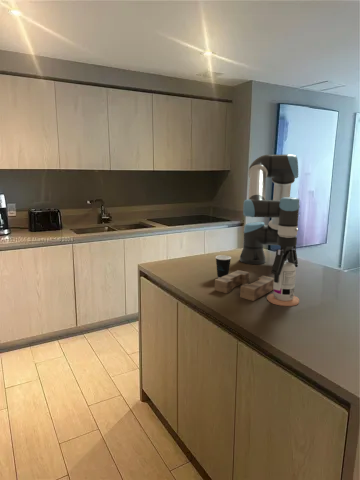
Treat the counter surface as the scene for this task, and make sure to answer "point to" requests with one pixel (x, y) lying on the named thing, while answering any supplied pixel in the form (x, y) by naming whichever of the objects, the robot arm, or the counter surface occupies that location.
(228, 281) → the walnut caddy
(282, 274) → the supplement can
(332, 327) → the counter surface
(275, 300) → the peach smooth rounded piece
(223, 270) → the dixie cup
